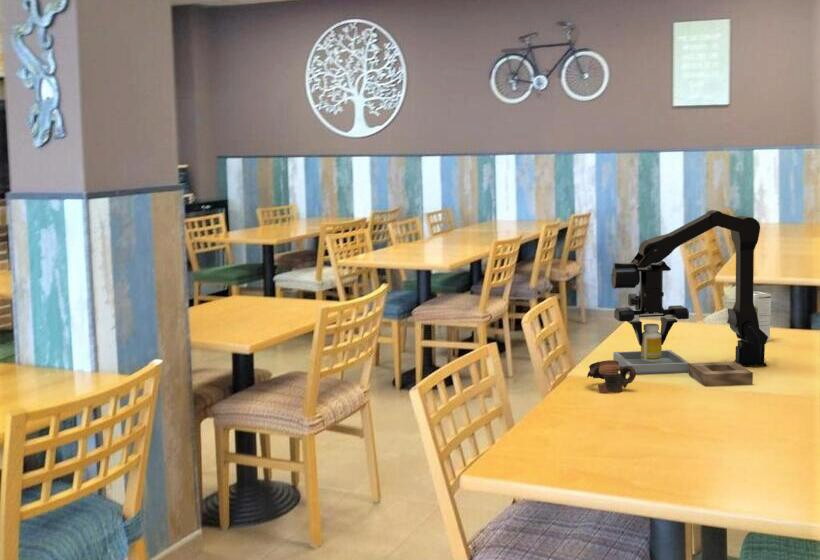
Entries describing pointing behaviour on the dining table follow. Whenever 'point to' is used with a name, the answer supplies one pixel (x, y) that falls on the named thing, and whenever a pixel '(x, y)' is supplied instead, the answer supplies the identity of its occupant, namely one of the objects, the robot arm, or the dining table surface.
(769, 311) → the syrup box
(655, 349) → the supplement bottle
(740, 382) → the sleeve block
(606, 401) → the dining table surface
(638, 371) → the tray
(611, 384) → the pottery mug
